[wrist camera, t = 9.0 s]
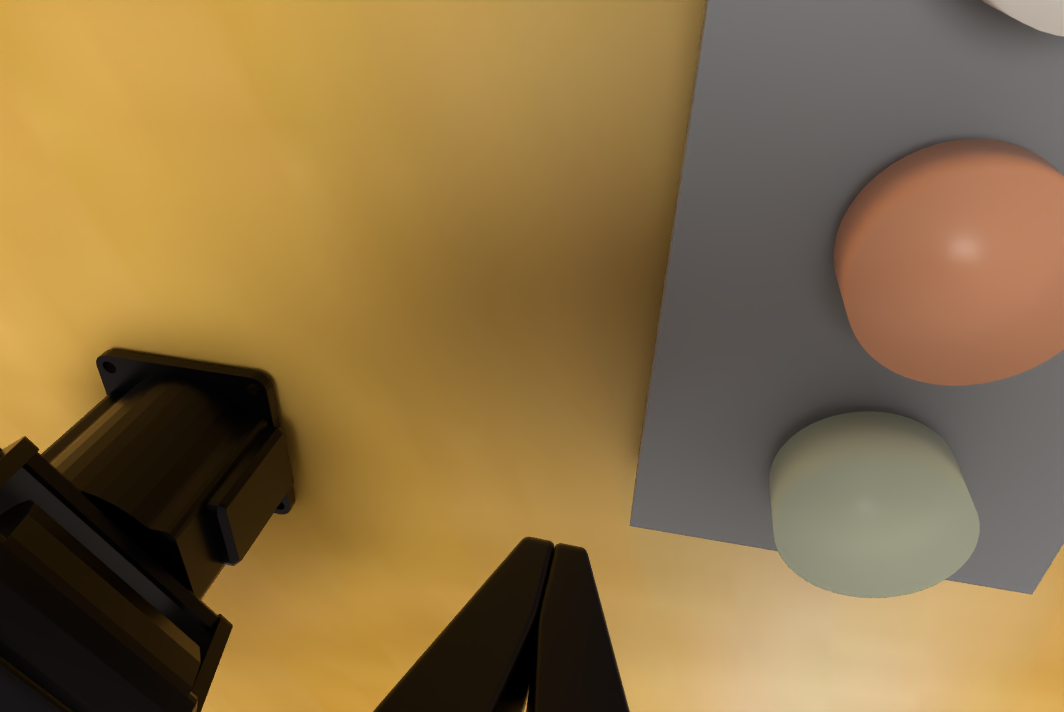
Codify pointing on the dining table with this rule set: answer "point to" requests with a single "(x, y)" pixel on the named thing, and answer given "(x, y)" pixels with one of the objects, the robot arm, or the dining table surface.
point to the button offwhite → (1034, 13)
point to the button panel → (808, 263)
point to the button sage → (871, 506)
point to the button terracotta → (957, 263)
